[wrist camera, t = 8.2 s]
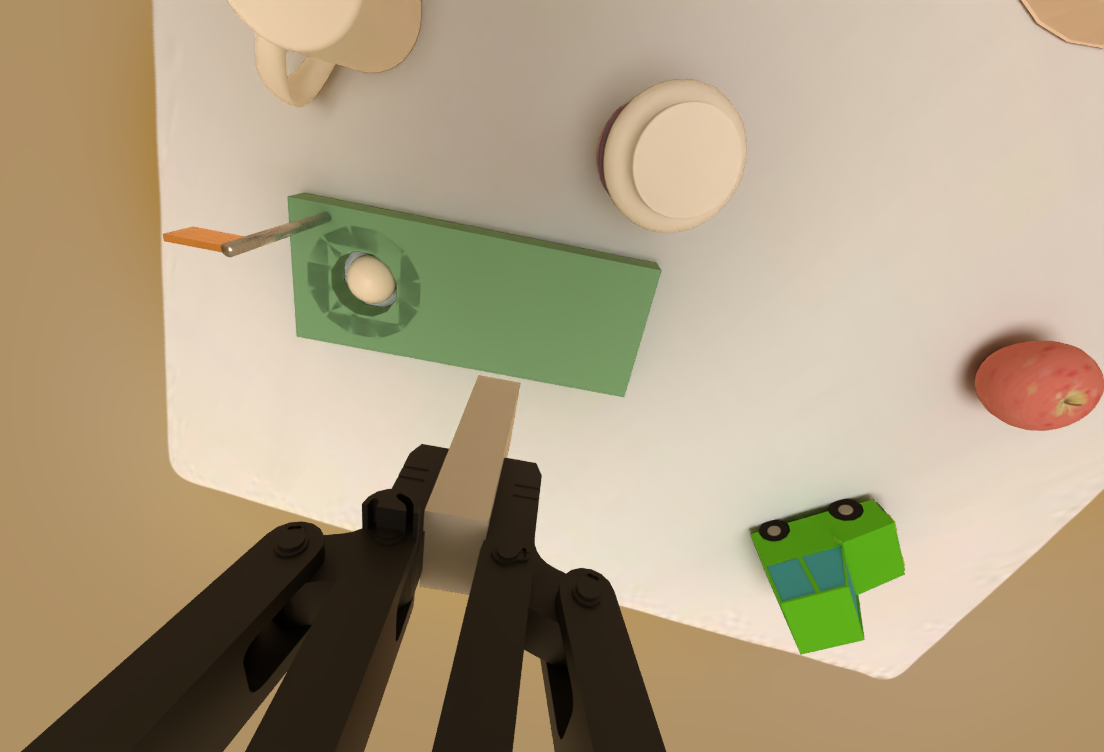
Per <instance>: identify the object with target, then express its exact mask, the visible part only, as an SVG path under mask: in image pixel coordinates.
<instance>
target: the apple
mask: <svg viewBox="0 0 1104 752" xmlns="http://www.w3.org/2000/svg"><path fill="white" fill-rule="evenodd" d="M975 388H976V391H977V395H978V398H979V399H980V401H981V402H982V404H983V405H984V407H985V408H986V409H987V410H988V411H989V412H990V413H991V414H993V415H994V416H996V417H997V418H999V419H1000V420H1002V421H1003V422H1005V423H1007V424H1009V425H1011V426H1015V427H1018V428H1022V429H1025V430H1039V431H1044V430H1052V429H1058V428H1061V427H1065V426H1068V425H1070V424H1072V423H1075V422H1077V421H1079V420H1080V419H1082V418H1083V417H1085V416H1086V415H1088V414H1089V413H1090V412H1091V411H1092V410H1093V409H1094V408H1095V406H1096V405H1097V403H1098V402H1099V400H1100V398H1101V396H1102V394H1103V391H1104V378H1103V374H1102V371H1101V370H1100V368H1099V366H1098V365H1097V363H1096V362H1095V360H1093V359H1092V358H1091V357H1090V356H1089V355H1088V354H1086V353H1085V352H1084V351H1082V350H1081V349H1079V348H1077V347H1075V346H1072V345H1068V344H1064V343H1060V342H1055V341H1030V342H1022V343H1016V344H1013V345H1009V346H1006V347H1003V348H1001V349H999V350H997V351H995V352H994V353H992V354H991V355H990V356H988V357H987V358H986V359H985V360H984V362H983V363H982V364H981V365H980V367H979V369H978V371H977V373H976V376H975Z"/></svg>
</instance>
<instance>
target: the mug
mask: <svg viewBox="0 0 1104 752" xmlns="http://www.w3.org/2000/svg"><path fill="white" fill-rule="evenodd" d="M227 2H228V3H229V5H230V6H231V7H232V9H233V10H234V11H235V13H236V14H237V15H238V16H239V17H240V19H241V20H242V21H243V22H244V23H245V24H246V25H247V26H248V27H249V28H250V29H252V30H253V31H254V32H255V33H256V35H255V61H256V66H257V70H258V73H259V75H260V77H261V79H262V81H263V83H264V84H265V85H266V87H267V88H268V89H269V90H270V91H271V92H272V93H273V94H274V95H275V96H276V97H278V98H279V99H280V100H282V101H284V102H285V103H287V104H289V105H292V106H295V107H301V106H304V105H306V104H308V103H309V102H310V101H311V100H312V99H313V98H314V97H315V96H316V95H317V93H318V92H319V91H320V89H321V88H322V87H323V85H324V83H325V82H326V80H327V79H328V77H329V75H330V73H331V72H332V70H333V68H334V66H335V65H336V64H338V65H341V66H345V67H348V68H351V69H355V70H358V71H363V72H382V71H385V70H388V69H391V68H393V67H394V66H396V65H398V64H399V63H400V62H401V61H403V59H404V58H405V57H406V56H407V55H408V54H409V52H410V51H411V49H412V48H413V46H414V44H415V42H416V39H417V36H418V33H419V29H420V23H421V0H227ZM287 50H290V51H293V52H297V53H300V54H304V55H307V56H308V57H307V58H306V60H305V61H304V62H303V63H302V65H301V66H300V67H299V68H298V69H297V70H296V71H295V72H293V73H292V74H291V75H289V76H288V77H287V71H286V51H287Z"/></svg>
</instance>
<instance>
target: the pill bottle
mask: <svg viewBox="0 0 1104 752" xmlns="http://www.w3.org/2000/svg"><path fill="white" fill-rule="evenodd" d="M746 151H747V148H746V135H745V130H744V126H743V123H742V120H741V118H740V116H739V114H738V112H737V110H736V109H735V107H734V106H733V104H732V103H731V102H730V100H729V99H728V98H727V97H726V96H725V95H724V94H722V93H721V92H720V91H719V90H717V89H716V88H714V87H712V86H710V85H708V84H706V83H703V82H700V81H696V80H689V79H677V80H670V81H665V82H662V83H659V84H657V85H654V86H652V87H650V88H648V89H647V90H645V91H643V92H642V93H640V94H639V95H638V96H636V97H635V98H633V99H632V100H630V101H628V102H627V103H625V104H624V105H622V106H621V107H620V108H619V109H618V110H616V111H615V113H614V114H613V115H612V116H611V117H610V119H609V120H608V122H607V123H606V125H605V127H604V129H603V131H602V133H601V136H600V139H599V142H598V147H597V168H598V173H599V176H600V179H601V182H602V184H603V186H604V188H605V190H606V191H607V192H608V194H609V195H610V197H611V199H612V200H613V202H614V203H615V205H616V206H617V207H618V209H619V210H620V211H621V212H622V213H623V214H624V215H625V216H626V217H627V218H628V219H629V220H631V221H632V222H633V223H635V224H637V225H638V226H641V227H643V228H645V229H648V230H652V231H656V232H666V233H672V232H680V231H684V230H688V229H691V228H693V227H696V226H698V225H700V224H702V223H704V222H705V221H707V220H708V219H710V218H711V217H712V216H714V215H715V214H716V213H717V212H718V211H719V210H720V209H721V208H722V207H723V206H724V205H725V204H726V203H727V202H728V200H729V199H730V198H731V196H732V195H733V193H734V191H735V190H736V188H737V186H738V184H739V181H740V179H741V176H742V173H743V170H744V166H745V161H746Z"/></svg>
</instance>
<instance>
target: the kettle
mask: <svg viewBox="0 0 1104 752" xmlns="http://www.w3.org/2000/svg"><path fill="white" fill-rule="evenodd" d="M1021 1H1022V2H1023V4H1024V5H1025V6H1026V8H1027V9H1028V11H1029V12H1030V13H1031V15H1032V16H1033V18H1034V19H1035V21H1036V22H1037V23H1038V24H1039V25H1041V26H1042V27H1044V28H1046V29H1047V30H1049V31H1050V32H1052V33H1054V34H1055V35H1057V36H1059V37H1060V38H1062V39H1063V40H1065V41H1067V42H1070V43H1076V44H1082V45H1087V46H1093V47H1099V48H1104V0H1021Z"/></svg>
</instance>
